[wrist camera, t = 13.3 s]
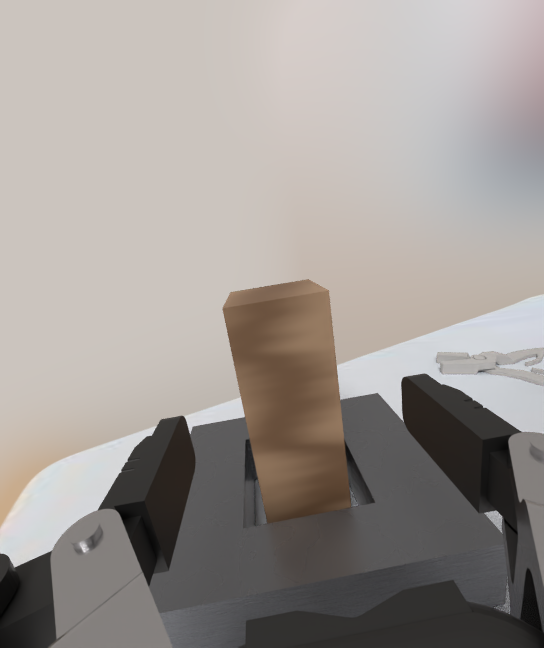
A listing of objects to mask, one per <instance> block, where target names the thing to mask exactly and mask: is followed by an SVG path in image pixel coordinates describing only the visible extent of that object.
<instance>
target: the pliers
mask: <svg viewBox="0 0 544 648" xmlns="http://www.w3.org/2000/svg"><path fill="white" fill-rule="evenodd" d="M536 356H537V358H536V359H535V360H532V361H529V362H525V366H527V367H528V366H532V365H535V364H538V363H540V362H541V361H542V359H543V357H544V348H535V349H527V350H520V351H515V352H511V353H508V354H506V355H505V354H502V353H498V352H494V351H491V352H482V353H481V354H479V355H472V356H471V357H470V356H469V354H468V353H451V352H438V353H437V363H440V372H441V373H442V374H477V372H478V371H483V372H486V373H488V374H491V375H501V376H507V377H511V378H516V379H520V380H524V381H527V382H530V383H534V384H537V385H542V386H544V370H542V369H536V368H532V371H531V372H528V371H524V370H515V369H505V368H499V367H498V366H496V364H499V365H508V364H515V363H517V362H520V361H522V360H525V359H527V358H531V357H536ZM532 372H534V373H532ZM536 373H539V374H536ZM540 374H543V375H540Z"/></svg>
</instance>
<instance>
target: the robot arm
mask: <svg viewBox="0 0 544 648" xmlns="http://www.w3.org/2000/svg"><path fill="white" fill-rule="evenodd" d="M401 387H402V413H403V420H404V423H405V426H406V428H407V430H408V431H409V433H410V434H411V435H412V436H413V437H414V438H415V440H416V441H417V442H418V443H419V444H420V445H421V447H422V448H423V449H424V450H425V451H426V452H427V454H428V455H429V456H430V457H431V458H432V459H433V461H434V462H435V463H436V464H437V465H438V466H439V468H440V469H441V470H442V471H443V472H444V473H445V475H446V476H447V477H448V478H449V479H450V480H451V482H452V483H453V484H454V485H455V486H456V487H457V489H458V490H459V491H460V492H461V493H462V494H463V495H464V497H465V498H466V499H467V500H468V501H469V502H470V504H471V505H472V506H473V507H474V508H475V509H476V511H477V512H478V513H479V514H480V513H485V512H490V511H495V510H497V511H498V512H499V513H500V514H501V516H502V532H503V541H504V550H505V559H506V568H507V577H508V586H509V595H510V614H508V613H506V612H503V611H501V610H498V609H495V608H493V607H490V606H487V605H483V604H479V603H475V602H469V601H466V600H465V598H464V596H463V595H462V593H461V592H460V590H459V588H458V587H457V585H456V583H455V582H454V580H450V581H445V582H440V583H435V584H430V585H425V586H420V587H415V588H409V589H404V590H402V591H400V592H399V593H397V594H395V595H394V596H392V597H390V598H389V599H387V600H385V601H384V602H382V603H380V604H379V605H377V606H375V607H374V608H372V609H370V610H369V611H367V612H365V613H364V614H362V615H360V616H358V617H354V618H351V617H342V616H335V615H328V614H320V613H313V612H305V611H298V610H297V611H292V612H287V613H282V614H277V615H272V616H267V617H261V618H256V619H251V620H246V639H245V644H244V645H242V646H240V647H239V648H544V434H541V433H535V432H521V431H519V430H518V429H516V428H515V427H513V426H512V425H510V424H509V423H507V422H506V421H504V420H503V419H502V418H500V417H499V416H497V415H496V414H494V413H493V412H491V411H490V410H488V409H487V408H483V406H482V405H481V404H479V403H478V402H476V401H473V400H472V398H471V397H469V396H468V395H466V394H465V393H463V392H462V391H460V390H458V389H455V388H452V387H450V386H447V385H444V384H443V385H441V384H440V383H438V382H437V381H436V380H434V379H433V378H431V377H430V376H429V375H427V374H419V375H413V376H408V377H404V378H403V379H402V382H401ZM195 465H196V459H195V452H194V448H193V444H192V441H191V437H190V433H189V430H188V426H187V422H186V419H185V417H184V416H178V417H173V418H167V419H162V420H160V422H159V424H158V425H157V427H156V429H155V431H154V433H153V435H152V436H147V437H146V438H145V439H144V440H142V441H141V442H140V443H139V444H138V445H137V446H136V447H135V448H134V450H133V451H132V453H131V455H130V457H129V458H128V462H126V463H125V465H124V467H123V468H122V470H121V471H122V472H121V473H119V475H118V477H117V478H116V480H115V482H114V483H113V485H112V487H111V489H110V490H109V492H108V494H107V495H106V497H105V499H104V500H103V502H102V504H101V505H100V507H99V509H98V510H97V511H95V512H93V513H90V514H88V515H86V516H85V517H83V518H81V519H80V520H78V521H77V522H76V523H74V524H73V525H72V526H71V527H70V528H69V529H67V530H66V532H65V533H64V534H63V535H62V536H61V537H60V538H59V540H58V541H57V543H56V544H55V546H54V548H53V550H52V551H50V552H48V553H46V554H44V555H42V556H39V557H37V558H35V559H33V560H30V561H28V562H26V563H24V564H21V565H19V566H17V567H15V568H14V566H13V564H12V562H11V561H10V559H9V557H8V556H7V555H5V554H0V648H173V647H172V644H171V642H170V639H169V637H168V634H167V632H166V629H165V627H164V624H163V622H162V619H161V617H160V614H159V612H158V609H157V607H156V604H155V602H154V599H153V597H152V594H151V592H150V589H149V586H150V583H151V579H152V576H153V574H156V573H161V572H167V571H169V568H170V565H171V561H172V557H173V553H174V549H175V545H176V541H177V538H178V534H179V530H180V526H181V522H182V518H183V514H184V511H185V507H186V503H187V499H188V495H189V491H190V488H191V484H192V480H193V476H194V472H195Z"/></svg>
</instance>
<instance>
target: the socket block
mask: <svg viewBox="0 0 544 648" xmlns="http://www.w3.org/2000/svg"><path fill="white" fill-rule="evenodd" d="M340 404H341V413H342V423H343V433H344V442H345V452H346V461H347V471H348V481H349V484H350V487H351V489H352V491H353V494H354V496H355V498H356V501H357V503H358V506H356V507H351V508H346V509H341V510H336V511H330V512H325V513H320V514H315V515H310V516H305V517H299V518H294V519H289V520H284V521H279V522H274V523H268V524H263V525H258V526H255V506H254V480H256V479H258V476H257V471H256V466H255V461H254V457H253V452H252V447H251V442H250V437H249V433H248V428H247V423H246V418H245V417H244V418H238V419H233V420H227V421H222V422H216V423H211V424H205V425H200V426H194V427H193V428H192V431H191V434H190V437H191V441H192V444H193V448H194V452H195V459H196V465H195V472H194V476H193V480H192V484H191V488H190V491H189V495H188V499H187V503H186V507H185V511H184V514H183V518H182V522H181V526H180V530H179V534H178V538H177V541H176V545H175V549H174V553H173V557H172V561H171V565H170V568H169V571H167V572H161V573H156V574H153V576H152V579H151V583H150V586H149V589H150V592H151V594H152V597H153V599H154V602H155V604H156V607H157V609H158V612H159V614H160V617H161V619H162V622H163V624H164V627H165V629H166V632H167V634H168V637H169V639H170V642H171V644H172V647H173V648H239V647H240V646H242V645H244V644H245V639H246V620H251V619H256V618H261V617H267V616H272V615H277V614H282V613H287V612H292V611H297V610H298V611H305V612H313V613H320V614H328V615H335V616H342V617H351V618H354V617H358V616H360V615H362V614H364V613H365V612H367V611H369V610H370V609H372V608H374V607H375V606H377V605H379V604H380V603H382V602H384V601H385V600H387V599H389V598H390V597H392V596H394V595H395V594H397V593H399V592H400V591H402V590H404V589H409V588H415V587H420V586H425V585H430V584H435V583H440V582H445V581H450V580H454V582H455V583H456V585H457V587H458V588H459V590H460V592H461V593H462V595H463V596H464V598H465V600H466V601H469V602H475V603H479V604H483V605H487V606H490V607H493V606H498V605H502V604H505V596H506V585H507V568H506V559H505V550H504V541H503V534H502V533H501V532H500V531H499V530H498V528H497V527H496V526H495V525H494V524H493V523H492V522H491V521H490V519H489V518H488V517H487V516H486V515H485V514H484V513H480V514H479V513H478V512H477V511H476V509H475V508H474V507H473V506H472V505H471V504H470V502H469V501H468V500H467V499H466V498H465V497H464V495H463V494H462V493H461V492H460V491H459V490H458V489H457V487H456V486H455V485H454V484H453V483H452V482H451V480H450V479H449V478H448V477H447V476H446V475H445V473H444V472H443V471H442V470H441V469H440V468H439V466H438V465H437V464H436V463H435V462H434V461H433V459H432V458H431V457H430V456H429V455H428V454H427V452H426V451H425V450H424V449H423V448H422V447H421V445H420V444H419V443H418V442H417V441H416V440H415V438H414V437H413V436H412V435H411V434H410V433H409V431H408V430H407V428H406V426H405V423H404V422H403V421H402V420H401V419H400V418H399V416H398V415H397V414H396V413H395V412H394V411H393V410H392V409H391V407H390V406H389V405H388V404H387V403H386V402H385V401H384V400H383V398H382V397H381V396H380V395H379V394H378V393H376V394H370V395H365V396H359V397H354V398H348V399H343V400H340Z"/></svg>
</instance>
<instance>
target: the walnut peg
mask: <svg viewBox="0 0 544 648" xmlns="http://www.w3.org/2000/svg"><path fill="white" fill-rule="evenodd" d="M223 313H224V318H225V323H226V327H227V332H228V337H229V342H230V347H231V351H232V356H233V361H234V366H235V371H236V375H237V380H238V385H239V390H240V394H241V399H242V404H243V409H244V414H245V418H246V423H247V428H248V433H249V437H250V442H251V447H252V452H253V457H254V461H255V466H256V471H257V476H258V481H259V485H260V490H261V495H262V500H263V504H264V509H265V514H266V519H267V524H268V523H274V522H279V521H284V520H289V519H294V518H299V517H305V516H310V515H315V514H320V513H325V512H330V511H336V510H341V509H346V508H351V500H350V490H349V481H348V471H347V461H346V452H345V442H344V433H343V423H342V413H341V404H340V394H339V384H338V375H337V365H336V356H335V346H334V336H333V327H332V317H331V307H330V298H329V290H327V289H325V288H323V287H321V286H320V285H318V284H316V283H314V282H312V281H310V280H309V279H308V280H302V281H296V282H290V283H283V284H278V285H271V286H265V287H259V288H253V289H248V290H241V291H235V292H231V293H230V295H229V297H228V299H227V301H226V303H225V304H224V307H223Z"/></svg>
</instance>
